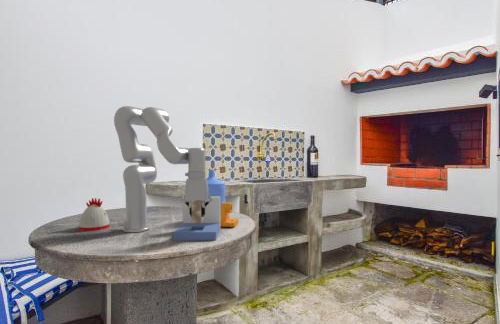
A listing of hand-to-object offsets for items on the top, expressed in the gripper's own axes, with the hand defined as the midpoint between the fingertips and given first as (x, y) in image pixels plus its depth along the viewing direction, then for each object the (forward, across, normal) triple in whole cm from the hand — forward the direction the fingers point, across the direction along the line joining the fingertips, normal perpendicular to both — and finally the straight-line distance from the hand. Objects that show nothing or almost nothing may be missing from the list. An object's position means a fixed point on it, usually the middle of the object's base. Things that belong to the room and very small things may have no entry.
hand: (197, 216), depth 137 cm
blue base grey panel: (+9, 0, +3) cm, 9 cm away
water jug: (+9, +2, +36) cm, 37 cm away
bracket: (+9, +13, +21) cm, 26 cm away
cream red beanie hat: (+9, -55, +18) cm, 59 cm away
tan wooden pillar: (+2, 0, 0) cm, 2 cm away
